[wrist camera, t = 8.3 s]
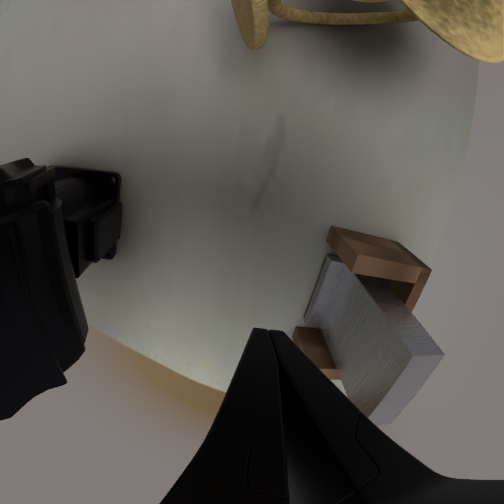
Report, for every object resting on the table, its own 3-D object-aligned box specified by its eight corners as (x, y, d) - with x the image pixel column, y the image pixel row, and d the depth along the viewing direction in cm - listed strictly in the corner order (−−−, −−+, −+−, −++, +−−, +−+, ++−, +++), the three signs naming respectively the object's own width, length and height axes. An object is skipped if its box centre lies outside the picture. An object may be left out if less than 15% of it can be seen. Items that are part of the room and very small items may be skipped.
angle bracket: (303, 319, 24) (341, 429, 13) (327, 255, 21) (394, 356, 11) (354, 324, 24) (405, 420, 14) (380, 265, 22) (457, 353, 12)
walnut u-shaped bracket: (292, 337, 24) (303, 378, 20) (331, 226, 20) (358, 254, 16) (353, 341, 25) (372, 378, 21) (398, 242, 21) (431, 269, 17)
